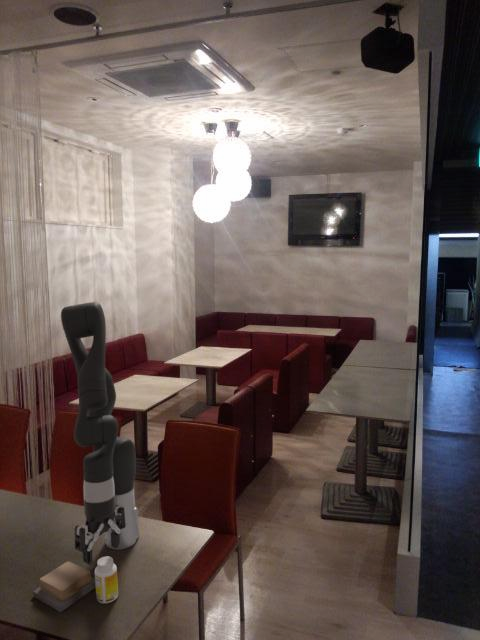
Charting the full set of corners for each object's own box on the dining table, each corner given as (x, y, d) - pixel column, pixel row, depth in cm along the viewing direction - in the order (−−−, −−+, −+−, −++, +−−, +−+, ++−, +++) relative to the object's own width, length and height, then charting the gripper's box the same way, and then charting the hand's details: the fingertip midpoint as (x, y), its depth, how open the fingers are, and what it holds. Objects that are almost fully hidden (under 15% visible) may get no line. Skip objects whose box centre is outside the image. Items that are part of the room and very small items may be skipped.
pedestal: (71, 571, 143) (70, 556, 142) (98, 585, 137) (97, 569, 136) (33, 596, 133) (32, 580, 132) (60, 612, 127) (59, 595, 126)
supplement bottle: (121, 590, 134) (119, 554, 133) (114, 605, 129) (111, 568, 127) (101, 589, 135) (98, 553, 134) (92, 604, 130) (90, 566, 128)
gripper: (111, 480, 136) (113, 537, 138) (65, 501, 124) (69, 563, 126) (131, 487, 131) (133, 546, 133) (85, 510, 120) (89, 574, 122)
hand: (102, 554), depth 130 cm, fingers open, 8 cm apart
